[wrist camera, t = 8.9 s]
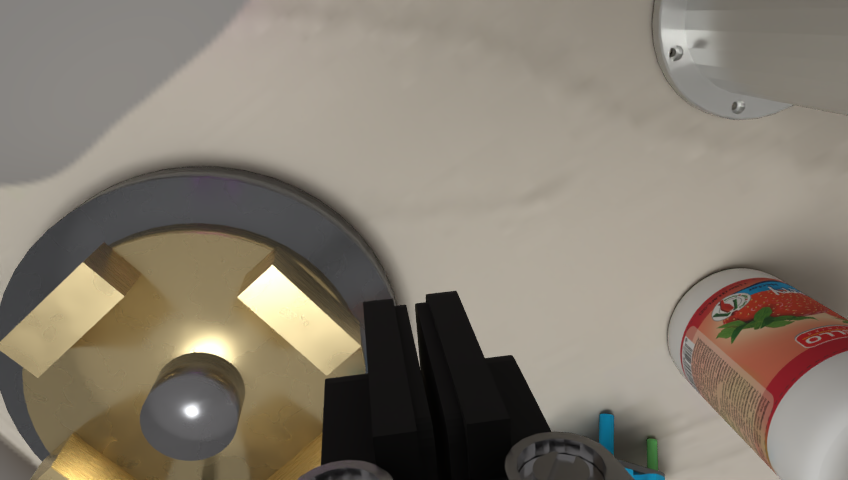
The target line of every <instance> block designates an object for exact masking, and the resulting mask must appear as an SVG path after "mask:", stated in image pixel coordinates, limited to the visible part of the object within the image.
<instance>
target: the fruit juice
mask: <svg viewBox="0 0 848 480" xmlns="http://www.w3.org/2000/svg"><path fill="white" fill-rule="evenodd" d="M668 347H669V351H670V355H671V357H672V360H673V362H674V364H675V365H676V367H677V369H678V370H679V372H680V373H681V374H682V376H683V377H684V378H685V379H686V380H687V381H688V382H689V383H690V384H691V385H692V386H693V387H694V388H695V389H696V390H697V392H698V393H699V394H700V395H701V396H702V397H703V398H704V399H705V400H706V401H707V402H708V403H709V404H710V405H711V406H712V407H713V408H714V409H715V410H716V412H717V413H718V414H719V415H720V416H721V417H722V418H723V419H724V420H725V421H726V422H727V423H728V424H729V425H730V426H731V427H732V428H733V429H734V430H735V431H736V433H737V434H738V435H739V436H740V437H741V438H742V439H743V440H744V441H745V442H746V443H747V444H748V445H749V446H750V447H751V448H752V449H753V450H754V451H755V452H756V454H757V455H758V456H759V457H760V458H761V459H762V460H763V461H764V462H765V463H766V464H767V465H768V466H769V467H770V468H771V469H772V470H773V471H774V473H775V474H776V475H777V476H778V477H779V478H780V479H781V480H848V320H847V319H845V318H844V317H842V316H840V315H839V314H837V313H835V312H834V311H832V310H830V309H829V308H827V307H825V306H823V305H822V304H820V303H818V302H817V301H815V300H813V299H812V298H810V297H808V296H807V295H805V294H803V293H802V292H800V291H798V290H797V289H795V288H793V287H792V286H790V285H788V284H787V283H785V282H783V281H782V280H780V279H778V278H777V277H775V276H773V275H770V274H767V273H765V272H762V271H759V270H754V269H747V268H735V269H728V270H724V271H720V272H717V273H715V274H712V275H710V276H708V277H706V278H705V279H703V280H701V281H700V282H698V283H697V284H696V285H694V286H693V287H692V288H691V289H690V290H689V291H688V292H687V293H686V294H685V295H684V296H683V298H682V299H681V300H680V302H679V303H678V305H677V306H676V308H675V310H674V312H673V314H672V317H671V320H670V323H669V328H668Z"/></svg>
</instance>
